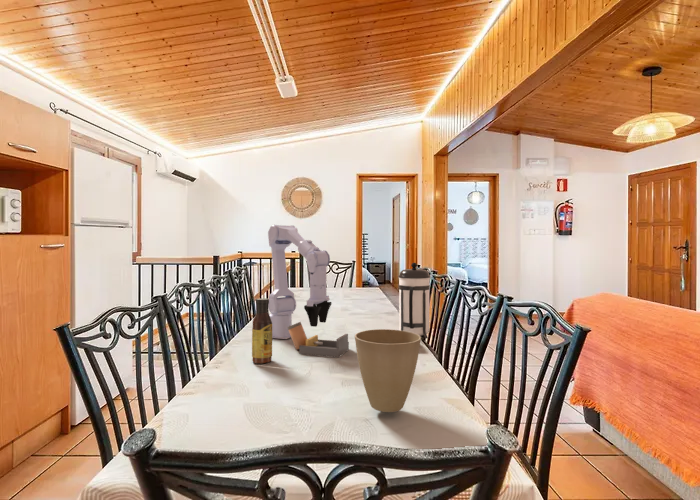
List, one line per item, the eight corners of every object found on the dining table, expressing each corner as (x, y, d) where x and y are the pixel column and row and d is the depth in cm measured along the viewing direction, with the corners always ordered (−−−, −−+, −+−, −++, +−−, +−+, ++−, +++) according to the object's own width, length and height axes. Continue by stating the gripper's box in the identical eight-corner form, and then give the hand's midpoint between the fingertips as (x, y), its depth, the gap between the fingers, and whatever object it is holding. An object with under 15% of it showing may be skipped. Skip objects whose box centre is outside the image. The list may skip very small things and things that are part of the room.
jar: (293, 351, 136) (284, 328, 137) (299, 347, 140) (291, 325, 141) (305, 346, 134) (296, 323, 135) (311, 343, 139) (302, 320, 140)
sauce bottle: (267, 365, 119) (267, 300, 119) (248, 364, 121) (248, 300, 121) (275, 359, 126) (275, 297, 126) (257, 358, 127) (257, 297, 127)
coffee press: (386, 334, 161) (386, 262, 161) (418, 331, 167) (418, 261, 167) (410, 344, 145) (410, 263, 145) (444, 339, 152) (444, 263, 152)
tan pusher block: (305, 350, 132) (305, 340, 132) (315, 344, 140) (315, 334, 140) (317, 351, 131) (317, 341, 131) (326, 345, 139) (326, 335, 139)
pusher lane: (299, 354, 132) (299, 336, 132) (312, 346, 142) (312, 330, 142) (337, 357, 127) (337, 340, 127) (348, 349, 137) (348, 333, 137)
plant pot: (382, 426, 78) (381, 347, 78) (342, 402, 90) (342, 333, 90) (435, 409, 86) (435, 337, 86) (392, 389, 98) (392, 326, 98)
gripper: (320, 287, 127) (320, 329, 127) (336, 283, 141) (336, 321, 141) (300, 287, 130) (301, 327, 130) (318, 283, 143) (318, 320, 143)
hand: (318, 324), depth 136 cm, fingers open, 7 cm apart
